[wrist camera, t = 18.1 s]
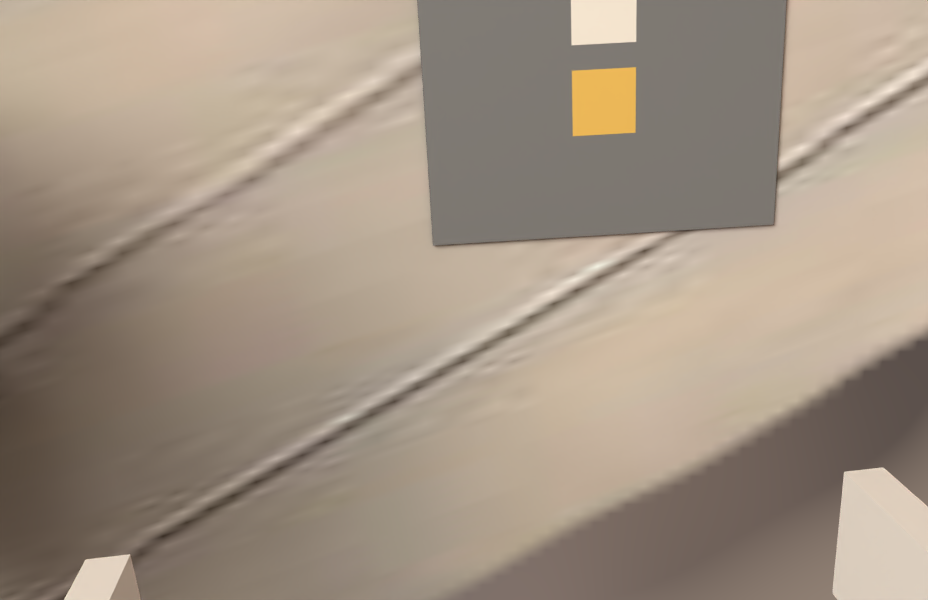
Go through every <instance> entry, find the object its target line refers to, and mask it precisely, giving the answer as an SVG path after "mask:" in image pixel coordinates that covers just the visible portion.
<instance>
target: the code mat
mask: <svg viewBox="0 0 928 600" xmlns="http://www.w3.org/2000/svg"><path fill="white" fill-rule="evenodd" d="M417 2H418V18H419V34H420V49H421V65H422V80H423V96H424V111H425V127H426V142H427V158H428V174H429V189H430V205H431V220H432V236H433V245H449V244H466V243H482V242H498V241H515V240H531V239H547V238H564V237H580V236H596V235H612V234H629V233H645V232H661V231H678V230H694V229H710V228H727V227H743V226H759V225H774V210H775V192H776V175H777V157H778V140H779V122H780V105H781V87H782V70H783V52H784V35H785V17H786V0H417Z"/></svg>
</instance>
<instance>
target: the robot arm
mask: <svg viewBox="0 0 928 600" xmlns="http://www.w3.org/2000/svg"><path fill="white" fill-rule="evenodd" d="M832 593H833V594H834V596H835V597H836V598H837V599H838V600H928V507H927V506H926V505H925V504H924V503H923V502H922V501H921V500H919V499H918V498H917V497H916V496H915V495H914V494H913V493H911V492H910V491H909V490H908V489H907V488H906V487H905V486H904V485H902V484H901V483H900V482H899V481H898V480H897V479H896V478H894V477H893V476H892V475H891V474H890V473H889V472H888V471H886V470H885V469H884V468H874V469H866V470H857V471H848V472H844V480H843V490H842V500H841V510H840V520H839V531H838V540H837V551H836V561H835V571H834V581H833V592H832ZM64 600H141V598H140V593H139V589H138V585H137V581H136V576H135V572H134V568H133V564H132V559H131V555H130V554H128V555H120V556H111V557H102V558H94V559H86V560H85V562H84V563H83V565H82V567H81V569H80V571H79V573H78V575H77V576H76V578H75V580H74V582H73V584H72V586H71V588H70V590H69V591H68V593H67V595H66V597H65V599H64Z"/></svg>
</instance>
